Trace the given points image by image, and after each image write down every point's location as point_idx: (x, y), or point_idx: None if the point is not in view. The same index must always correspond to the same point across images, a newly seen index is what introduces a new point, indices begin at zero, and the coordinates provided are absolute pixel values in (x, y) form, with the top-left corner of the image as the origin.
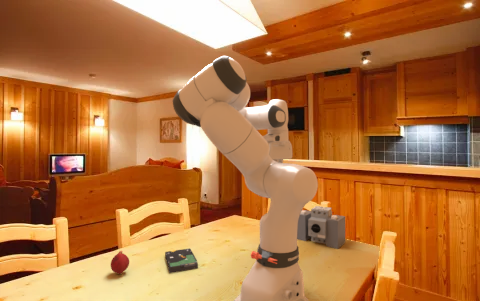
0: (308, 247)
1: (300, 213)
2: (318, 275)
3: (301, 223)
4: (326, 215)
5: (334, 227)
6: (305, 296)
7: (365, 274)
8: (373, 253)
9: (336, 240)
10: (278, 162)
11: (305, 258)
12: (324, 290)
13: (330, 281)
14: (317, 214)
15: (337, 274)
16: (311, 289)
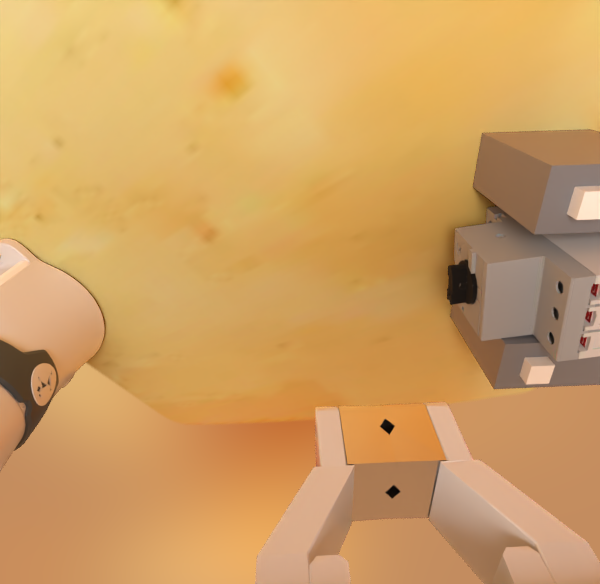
0: (404, 231)
1: (574, 187)
2: (209, 345)
3: (514, 192)
4: (544, 341)
5: (483, 355)
6: (69, 378)
7: (304, 417)
8: (468, 399)
9: (462, 329)
10: (511, 536)
11: (292, 270)
12: (150, 382)
13: (202, 376)
14: (550, 298)
15: (253, 375)
16: (128, 361)
